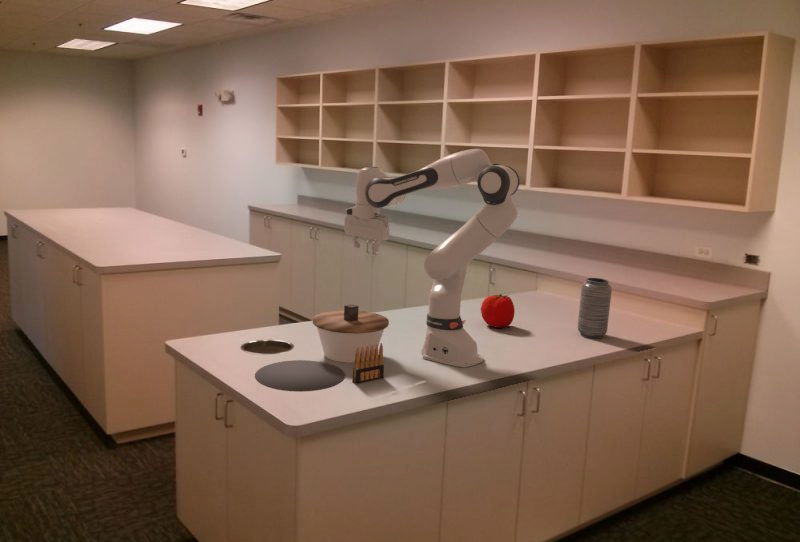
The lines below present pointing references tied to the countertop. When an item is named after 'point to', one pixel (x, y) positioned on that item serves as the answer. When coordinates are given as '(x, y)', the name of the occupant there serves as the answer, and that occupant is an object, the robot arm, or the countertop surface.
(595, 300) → the vase
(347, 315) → the lid
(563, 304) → the countertop surface
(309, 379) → the mat
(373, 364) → the ammunition clip
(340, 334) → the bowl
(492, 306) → the tomato
